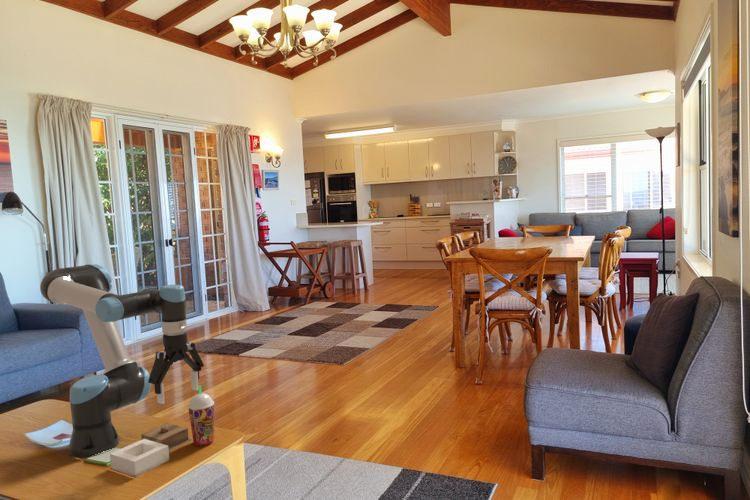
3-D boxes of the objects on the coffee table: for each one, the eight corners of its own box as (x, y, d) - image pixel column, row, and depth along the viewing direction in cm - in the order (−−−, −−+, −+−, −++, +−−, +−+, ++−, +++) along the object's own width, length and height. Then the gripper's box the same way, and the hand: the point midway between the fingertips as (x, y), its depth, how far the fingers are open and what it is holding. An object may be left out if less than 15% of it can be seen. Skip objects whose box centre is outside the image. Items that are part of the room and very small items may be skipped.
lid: (142, 445, 187) (141, 430, 187) (168, 434, 196) (167, 419, 196) (162, 452, 182) (161, 436, 181) (188, 439, 191) (187, 424, 190)
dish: (111, 469, 172) (109, 453, 171) (145, 453, 182) (143, 438, 182) (135, 477, 166) (134, 461, 165) (169, 461, 176) (168, 445, 175)
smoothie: (209, 449, 183) (205, 390, 181) (186, 448, 184) (181, 389, 183) (221, 438, 191) (217, 381, 189) (199, 437, 193) (194, 381, 191)
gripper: (149, 343, 168) (153, 411, 171) (212, 325, 190) (215, 386, 192) (133, 340, 172) (137, 406, 174) (197, 323, 193) (200, 382, 196)
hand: (178, 396), depth 183 cm, fingers open, 13 cm apart
